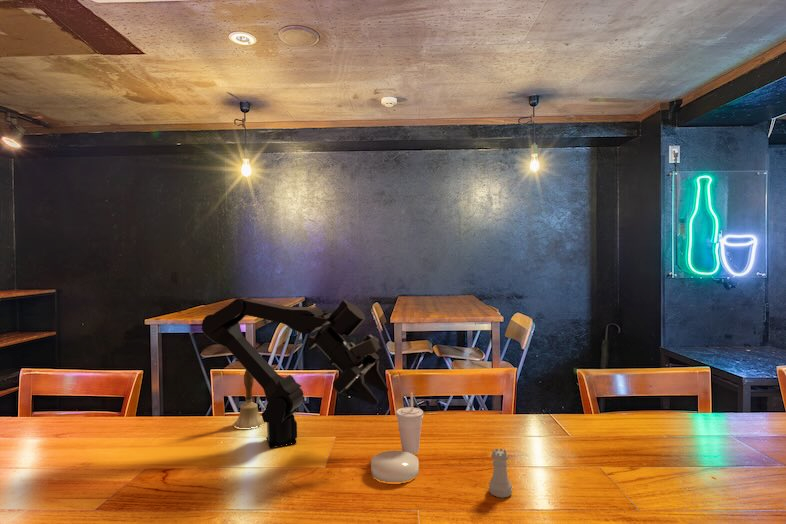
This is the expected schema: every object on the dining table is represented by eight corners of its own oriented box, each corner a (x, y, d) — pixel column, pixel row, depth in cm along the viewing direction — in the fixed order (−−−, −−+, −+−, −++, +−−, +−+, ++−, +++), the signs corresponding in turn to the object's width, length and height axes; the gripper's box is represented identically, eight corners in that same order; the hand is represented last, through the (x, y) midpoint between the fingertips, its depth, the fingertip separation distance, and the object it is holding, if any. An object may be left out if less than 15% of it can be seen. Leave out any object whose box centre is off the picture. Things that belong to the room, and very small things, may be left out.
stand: (382, 489, 88) (381, 476, 88) (364, 467, 97) (364, 456, 97) (427, 478, 92) (426, 466, 92) (406, 458, 101) (406, 447, 101)
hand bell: (269, 419, 127) (268, 363, 127) (257, 430, 119) (256, 370, 119) (241, 418, 128) (240, 363, 128) (227, 430, 120) (226, 370, 120)
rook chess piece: (495, 484, 89) (494, 444, 89) (516, 491, 86) (515, 450, 86) (484, 493, 85) (483, 452, 85) (506, 501, 83) (505, 458, 82)
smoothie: (424, 459, 100) (423, 397, 100) (396, 459, 100) (395, 397, 100) (423, 447, 107) (422, 388, 107) (396, 447, 107) (395, 389, 107)
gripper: (345, 332, 97) (395, 385, 94) (370, 320, 115) (413, 364, 113) (312, 367, 99) (361, 420, 96) (342, 349, 117) (384, 394, 115)
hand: (382, 397), depth 105 cm, fingers open, 9 cm apart
